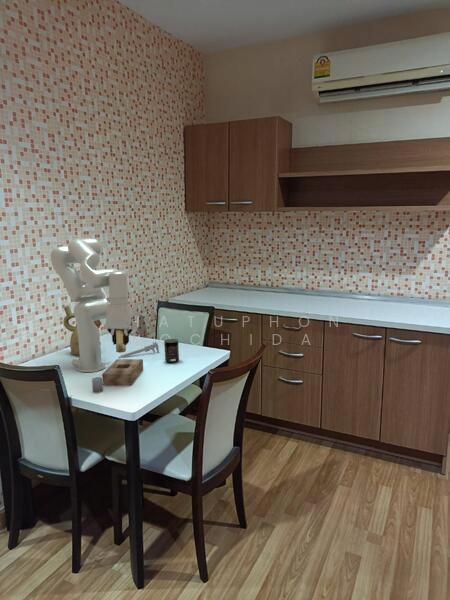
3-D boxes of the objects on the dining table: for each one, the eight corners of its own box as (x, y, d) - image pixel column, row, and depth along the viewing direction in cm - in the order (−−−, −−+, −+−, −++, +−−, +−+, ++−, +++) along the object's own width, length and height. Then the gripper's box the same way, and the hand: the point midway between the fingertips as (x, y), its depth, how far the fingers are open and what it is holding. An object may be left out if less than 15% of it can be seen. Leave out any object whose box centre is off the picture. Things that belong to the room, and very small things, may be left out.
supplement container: (176, 358, 227) (175, 338, 225) (181, 362, 221) (180, 341, 219) (163, 360, 224) (162, 340, 223) (167, 364, 218) (166, 343, 216)
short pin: (91, 392, 185) (90, 380, 184) (94, 389, 189) (94, 377, 188) (101, 392, 185) (100, 380, 184) (104, 389, 189) (103, 377, 188)
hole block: (103, 385, 193) (102, 373, 192) (117, 369, 213) (116, 359, 212) (131, 385, 192) (130, 374, 191) (143, 369, 212) (142, 359, 211)
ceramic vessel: (99, 356, 234) (95, 308, 229) (60, 357, 234) (56, 308, 230) (108, 347, 250) (104, 301, 246) (72, 348, 251) (68, 302, 246)
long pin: (114, 352, 193) (113, 329, 191) (118, 349, 197) (117, 326, 195) (124, 352, 193) (123, 329, 191) (127, 349, 197) (126, 326, 195)
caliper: (158, 352, 239) (157, 340, 238) (158, 353, 238) (158, 341, 237) (118, 358, 231) (117, 346, 230) (118, 358, 230) (118, 346, 229)
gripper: (95, 302, 188) (98, 345, 192) (136, 303, 186) (137, 347, 190) (102, 298, 195) (104, 340, 199) (141, 299, 194) (142, 341, 197)
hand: (120, 343), depth 194 cm, fingers closed on long pin, 4 cm apart
